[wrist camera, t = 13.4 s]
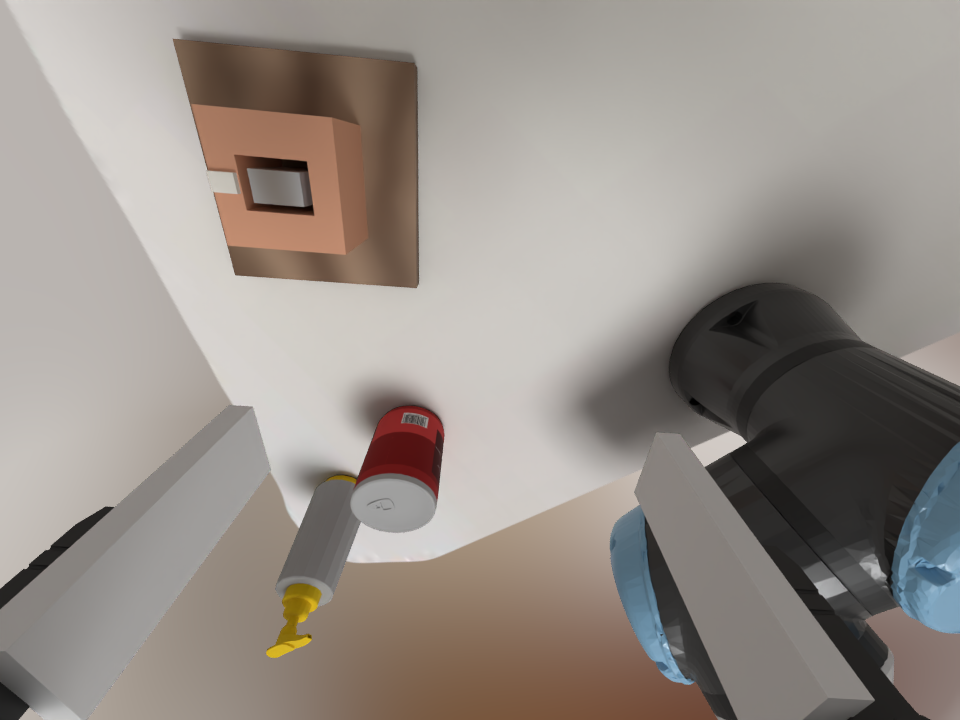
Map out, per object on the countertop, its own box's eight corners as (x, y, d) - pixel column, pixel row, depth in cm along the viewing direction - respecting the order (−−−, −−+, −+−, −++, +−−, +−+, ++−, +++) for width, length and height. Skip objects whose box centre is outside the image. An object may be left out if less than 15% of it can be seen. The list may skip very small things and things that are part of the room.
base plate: (417, 67, 26) (397, 37, 19) (418, 283, 34) (405, 313, 27) (188, 45, 25) (87, 4, 18) (244, 270, 33) (187, 298, 26)
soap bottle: (382, 493, 48) (337, 655, 32) (344, 513, 50) (285, 675, 34) (345, 463, 45) (276, 624, 29) (307, 485, 47) (223, 648, 31)
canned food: (365, 417, 41) (332, 495, 32) (425, 393, 40) (409, 467, 30) (399, 460, 45) (378, 542, 35) (455, 440, 43) (450, 520, 34)
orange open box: (360, 125, 26) (329, 116, 21) (368, 238, 30) (344, 256, 25) (248, 114, 26) (186, 102, 20) (271, 230, 30) (224, 246, 24)
